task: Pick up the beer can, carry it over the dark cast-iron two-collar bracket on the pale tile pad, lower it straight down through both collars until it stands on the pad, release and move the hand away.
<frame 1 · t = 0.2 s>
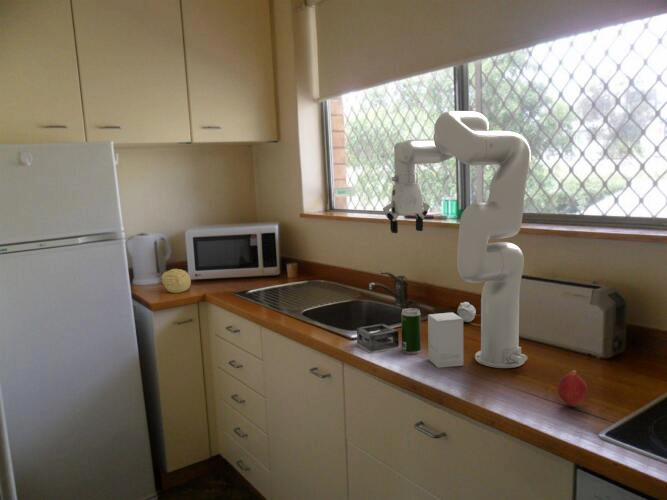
hand: (406, 231, 177), 31 cm above the worktop, tool pointing down, fingers open, 9 cm apart
onion: (572, 407, 113), on the worktop
pale yellow bumpy ball: (178, 292, 245), on the worktop
crumpled paper ball: (466, 322, 179), on the worktop
collar stand: (377, 345, 157), on the worktop
supplement box: (445, 363, 142), on the worktop
beer can: (411, 351, 151), on the worktop
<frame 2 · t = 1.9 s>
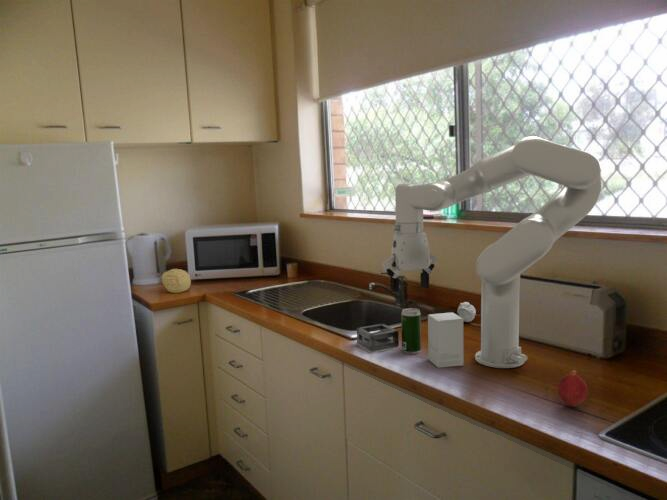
hand: (410, 289, 149), 18 cm above the worktop, tool pointing down, fingers open, 9 cm apart
nothing on the worktop moved.
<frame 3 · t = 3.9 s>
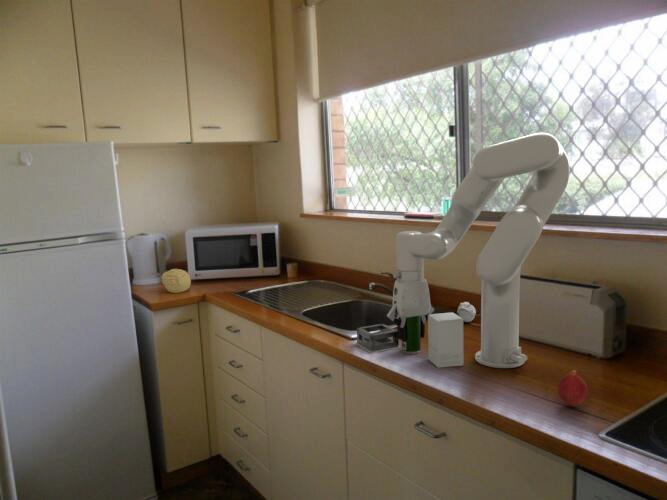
hand: (411, 337, 151), 4 cm above the worktop, tool pointing down, fingers closed on beer can, 5 cm apart
beer can: (411, 351, 151), on the worktop, touching gripper
everything else where it was.
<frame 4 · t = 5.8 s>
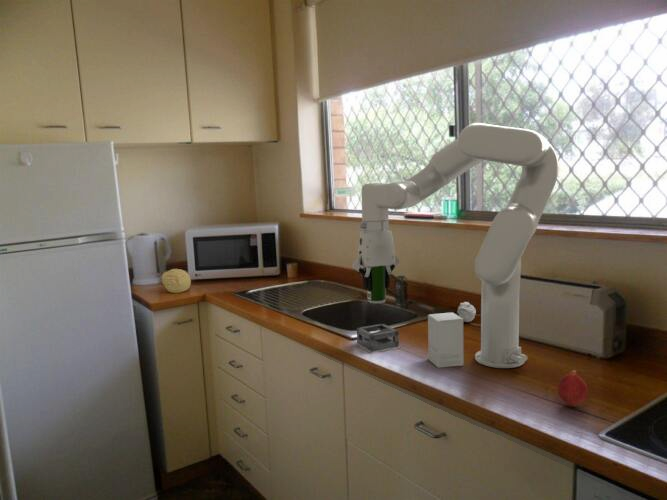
hand: (376, 288, 155), 17 cm above the worktop, tool pointing down, fingers closed on beer can, 5 cm apart
beer can: (376, 302, 155), point 13 cm above the worktop, touching gripper
everything else where it was.
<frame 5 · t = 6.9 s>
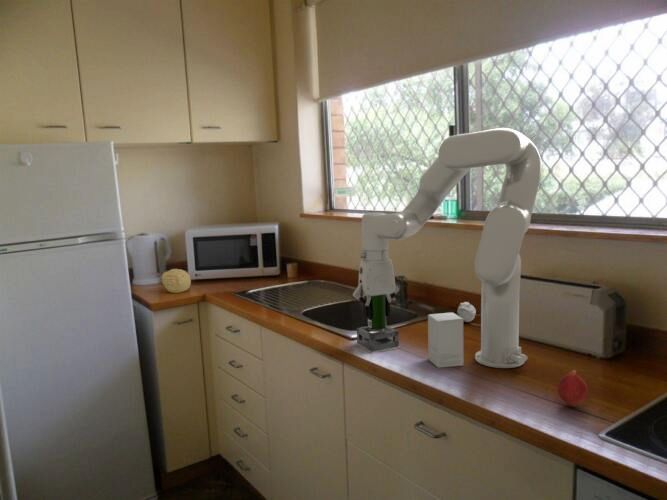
hand: (377, 316, 156), 9 cm above the worktop, tool pointing down, fingers closed on beer can, 5 cm apart
beer can: (377, 329, 156), point 5 cm above the worktop, touching gripper
everything else where it was.
when the fingers open (7 cm above the worktop, at t = 7.7 s): beer can drops 2 cm, resting on collar stand.
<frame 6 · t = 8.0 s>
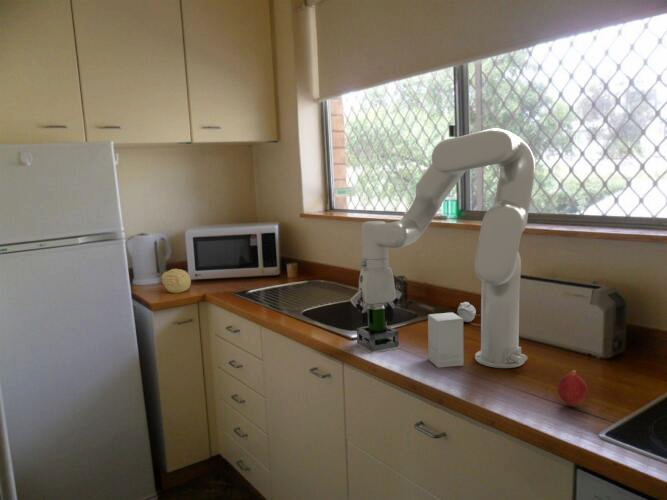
hand: (377, 322, 156), 7 cm above the worktop, tool pointing down, fingers open, 7 cm apart
beer can: (378, 344, 157), resting on collar stand
everything else where it was.
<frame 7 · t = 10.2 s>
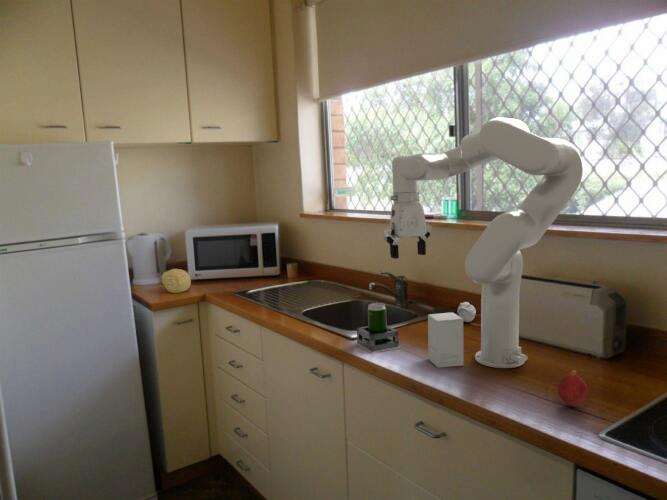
hand: (408, 256, 158), 26 cm above the worktop, tool pointing down, fingers open, 9 cm apart
nothing on the worktop moved.
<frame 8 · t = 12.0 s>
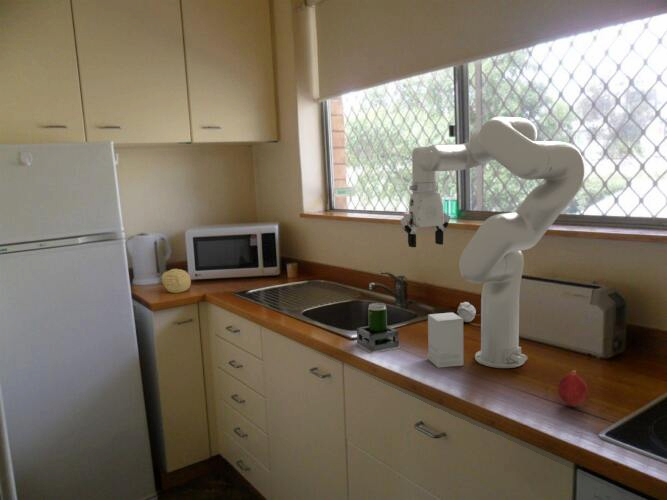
hand: (425, 245, 161), 28 cm above the worktop, tool pointing down, fingers open, 9 cm apart
nothing on the worktop moved.
at the end: beer can 0.3 cm off-centre on the collar stand, point 0.2 cm above the collar stand's base; beer can tilted 1°; the gripper is holding nothing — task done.
